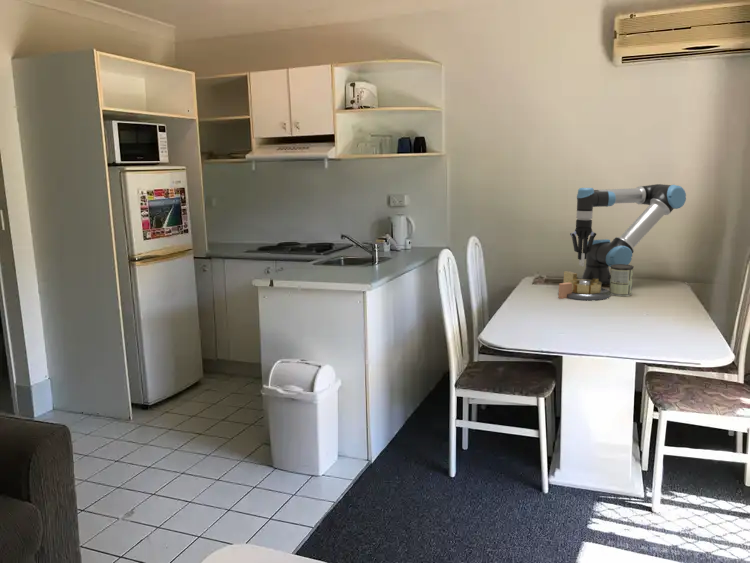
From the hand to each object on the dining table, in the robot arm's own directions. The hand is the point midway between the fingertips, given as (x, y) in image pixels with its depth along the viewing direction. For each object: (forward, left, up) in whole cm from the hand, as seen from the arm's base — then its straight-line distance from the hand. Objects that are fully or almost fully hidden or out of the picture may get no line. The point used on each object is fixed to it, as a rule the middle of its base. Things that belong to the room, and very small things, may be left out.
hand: (581, 265), depth 314 cm
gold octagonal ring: (+3, +8, -10) cm, 14 cm away
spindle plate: (+2, +12, -12) cm, 17 cm away
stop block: (+13, +16, -12) cm, 24 cm away
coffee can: (-16, +12, -13) cm, 23 cm away
